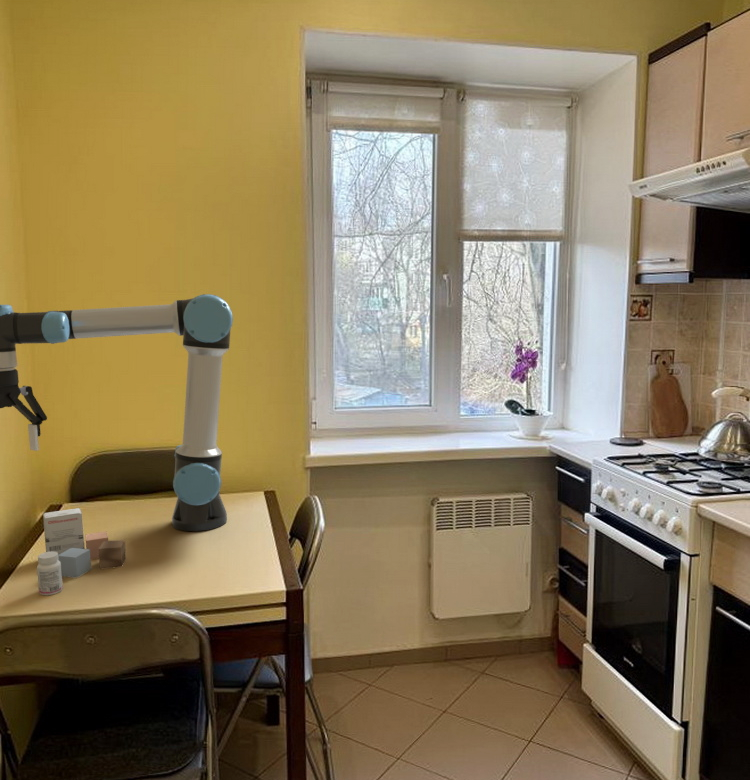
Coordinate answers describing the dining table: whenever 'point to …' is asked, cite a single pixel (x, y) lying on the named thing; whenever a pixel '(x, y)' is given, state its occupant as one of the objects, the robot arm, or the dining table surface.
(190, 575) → the dining table surface
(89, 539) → the terracotta cube
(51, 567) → the pill bottle
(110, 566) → the walnut cube
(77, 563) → the slate blue cube
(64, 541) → the ink box
